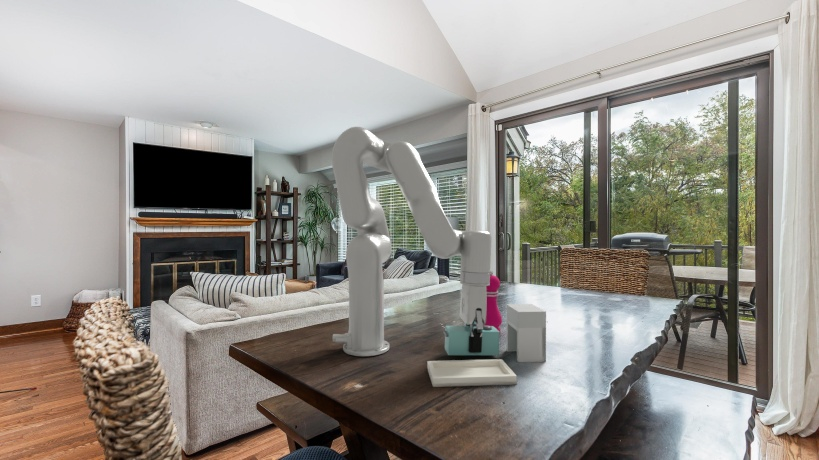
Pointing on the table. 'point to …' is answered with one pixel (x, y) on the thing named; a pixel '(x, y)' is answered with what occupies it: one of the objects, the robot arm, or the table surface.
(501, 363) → the tray
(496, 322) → the pepper mill
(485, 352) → the mint rectangular box
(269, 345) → the table surface
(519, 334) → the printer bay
